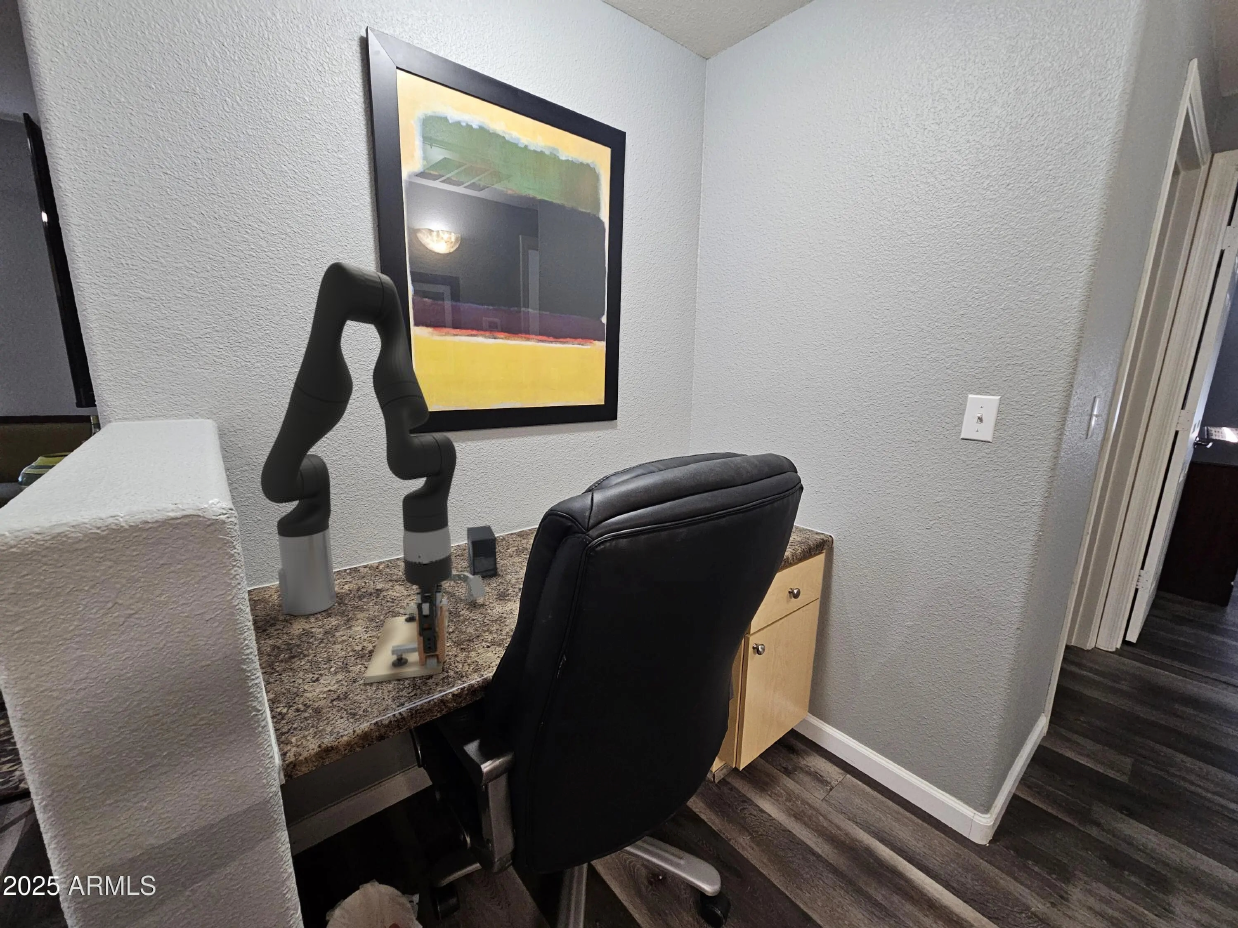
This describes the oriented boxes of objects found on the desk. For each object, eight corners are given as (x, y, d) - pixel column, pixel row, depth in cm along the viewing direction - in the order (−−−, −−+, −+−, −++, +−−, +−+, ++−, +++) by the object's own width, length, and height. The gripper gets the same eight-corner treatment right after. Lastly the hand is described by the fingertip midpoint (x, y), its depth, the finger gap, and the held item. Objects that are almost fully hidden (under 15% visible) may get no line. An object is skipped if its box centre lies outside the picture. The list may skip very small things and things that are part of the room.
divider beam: (391, 673, 82) (390, 657, 81) (407, 615, 100) (407, 602, 100) (441, 666, 84) (440, 650, 83) (448, 611, 103) (447, 598, 102)
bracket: (475, 600, 106) (461, 556, 107) (427, 613, 119) (415, 574, 120) (487, 595, 109) (473, 552, 110) (438, 609, 122) (426, 570, 122)
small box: (467, 564, 131) (465, 526, 129) (491, 560, 133) (490, 524, 131) (471, 579, 121) (470, 539, 119) (498, 575, 124) (497, 536, 122)
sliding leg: (390, 668, 82) (387, 621, 81) (394, 655, 86) (391, 610, 85) (445, 660, 85) (443, 615, 83) (447, 648, 89) (445, 604, 87)
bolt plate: (364, 683, 81) (364, 676, 80) (386, 623, 100) (386, 617, 99) (441, 672, 84) (441, 666, 84) (448, 616, 103) (448, 611, 103)
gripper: (409, 539, 88) (414, 623, 91) (396, 570, 75) (403, 667, 78) (453, 536, 90) (456, 618, 93) (448, 566, 77) (452, 661, 80)
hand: (432, 640), depth 86 cm, fingers open, 6 cm apart
